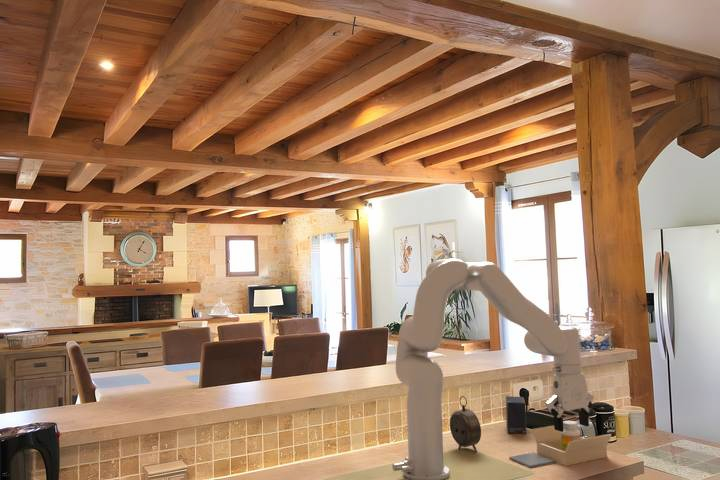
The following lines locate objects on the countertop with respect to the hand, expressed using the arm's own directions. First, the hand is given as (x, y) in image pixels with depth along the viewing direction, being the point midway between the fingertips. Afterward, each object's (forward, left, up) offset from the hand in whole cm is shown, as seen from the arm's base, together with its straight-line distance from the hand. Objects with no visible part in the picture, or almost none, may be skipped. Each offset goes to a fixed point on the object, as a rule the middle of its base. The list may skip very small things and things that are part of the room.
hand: (571, 427), depth 173 cm
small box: (+4, +31, -8) cm, 32 cm away
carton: (-1, 0, -8) cm, 8 cm away
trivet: (-14, +2, -8) cm, 16 cm away
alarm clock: (-24, +21, -8) cm, 33 cm away
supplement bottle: (-1, 0, -8) cm, 8 cm away
